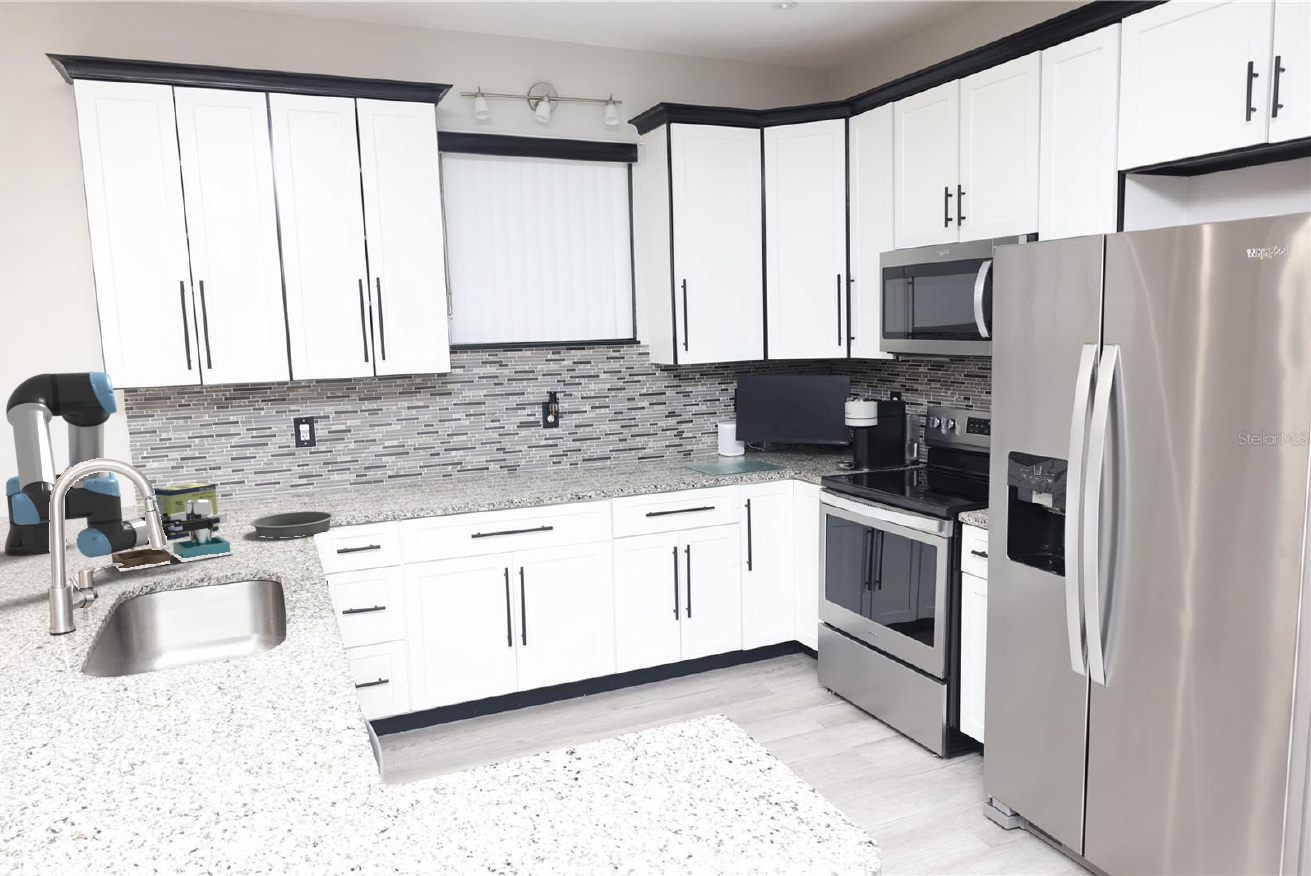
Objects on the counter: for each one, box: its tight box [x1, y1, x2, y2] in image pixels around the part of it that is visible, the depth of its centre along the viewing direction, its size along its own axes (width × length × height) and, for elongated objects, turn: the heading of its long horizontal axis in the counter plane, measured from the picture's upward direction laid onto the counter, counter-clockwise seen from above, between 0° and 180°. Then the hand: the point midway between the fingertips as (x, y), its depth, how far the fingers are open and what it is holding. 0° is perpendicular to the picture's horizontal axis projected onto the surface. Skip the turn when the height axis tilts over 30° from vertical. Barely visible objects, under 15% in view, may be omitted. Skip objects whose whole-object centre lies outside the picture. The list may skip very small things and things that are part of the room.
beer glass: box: [185, 499, 213, 548], centre depth 242 cm, size 7×7×15 cm
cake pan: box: [250, 510, 334, 539], centre depth 273 cm, size 25×25×4 cm
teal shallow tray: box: [172, 535, 231, 558], centre depth 242 cm, size 13×13×4 cm
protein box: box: [153, 481, 220, 540], centre depth 273 cm, size 10×16×16 cm
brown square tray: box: [111, 547, 172, 568], centre depth 233 cm, size 12×12×3 cm
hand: (207, 516), depth 244 cm, fingers open, 13 cm apart
